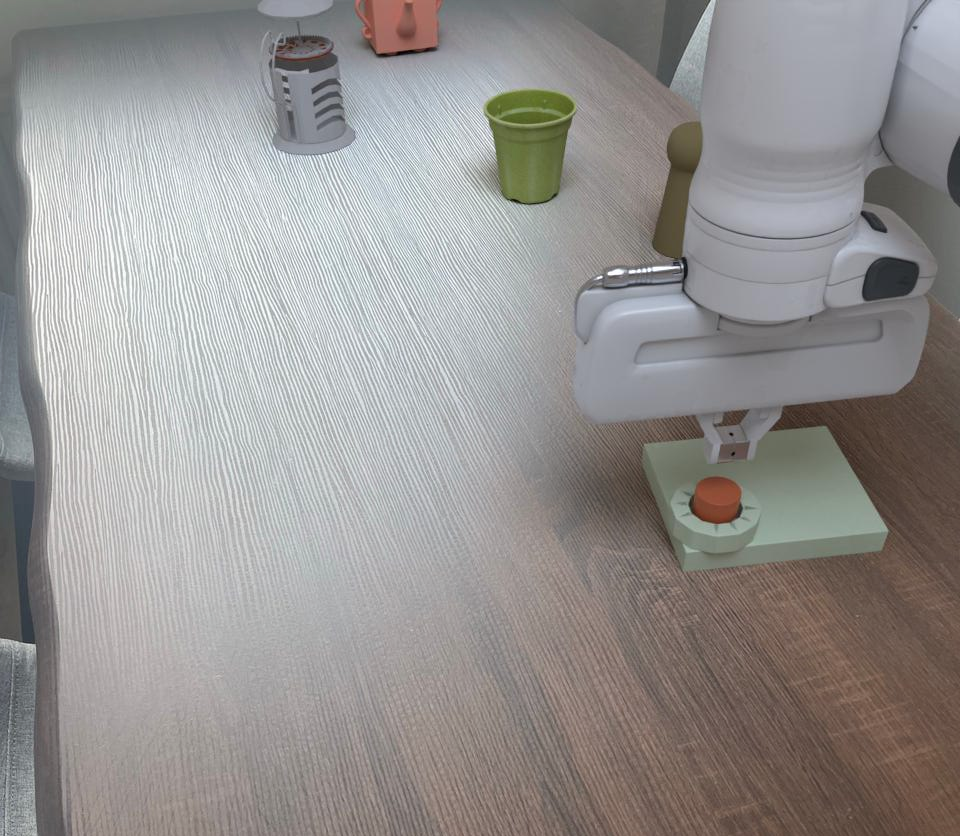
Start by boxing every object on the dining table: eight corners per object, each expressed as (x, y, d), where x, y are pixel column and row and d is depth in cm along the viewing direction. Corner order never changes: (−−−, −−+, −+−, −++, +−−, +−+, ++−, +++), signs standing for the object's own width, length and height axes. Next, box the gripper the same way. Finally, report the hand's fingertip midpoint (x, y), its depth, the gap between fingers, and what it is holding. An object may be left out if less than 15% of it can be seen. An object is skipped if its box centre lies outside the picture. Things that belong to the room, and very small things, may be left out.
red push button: (730, 494, 70) (734, 473, 69) (743, 522, 68) (747, 502, 67) (687, 498, 70) (690, 478, 68) (699, 527, 68) (702, 507, 66)
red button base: (820, 445, 78) (831, 407, 76) (884, 555, 70) (898, 517, 67) (635, 464, 77) (639, 426, 75) (677, 578, 69) (684, 539, 66)
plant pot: (497, 217, 105) (496, 129, 99) (476, 179, 111) (473, 93, 105) (584, 205, 106) (589, 117, 100) (559, 168, 112) (561, 83, 106)
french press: (371, 128, 121) (346, -132, 103) (317, 167, 114) (279, -104, 96) (302, 115, 124) (265, -139, 106) (245, 152, 117) (195, -113, 99)
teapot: (430, 24, 145) (427, -45, 139) (458, 59, 136) (455, -13, 129) (348, 34, 143) (341, -35, 137) (370, 71, 134) (364, -2, 127)
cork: (639, 245, 100) (650, 128, 92) (676, 223, 103) (689, 108, 95) (690, 265, 97) (707, 146, 89) (726, 242, 100) (745, 124, 92)
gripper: (586, 300, 53) (577, 506, 63) (969, 263, 54) (898, 470, 64) (564, 242, 57) (558, 443, 67) (919, 209, 58) (860, 412, 68)
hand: (727, 456), depth 66 cm, fingers closed
